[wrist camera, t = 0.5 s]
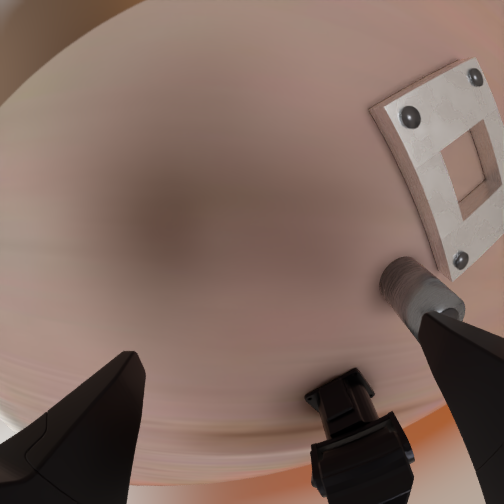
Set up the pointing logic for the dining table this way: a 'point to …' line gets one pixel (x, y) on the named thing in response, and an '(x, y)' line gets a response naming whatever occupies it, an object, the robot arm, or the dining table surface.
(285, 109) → the dining table surface
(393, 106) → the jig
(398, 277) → the cylinder
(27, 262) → the dining table surface
